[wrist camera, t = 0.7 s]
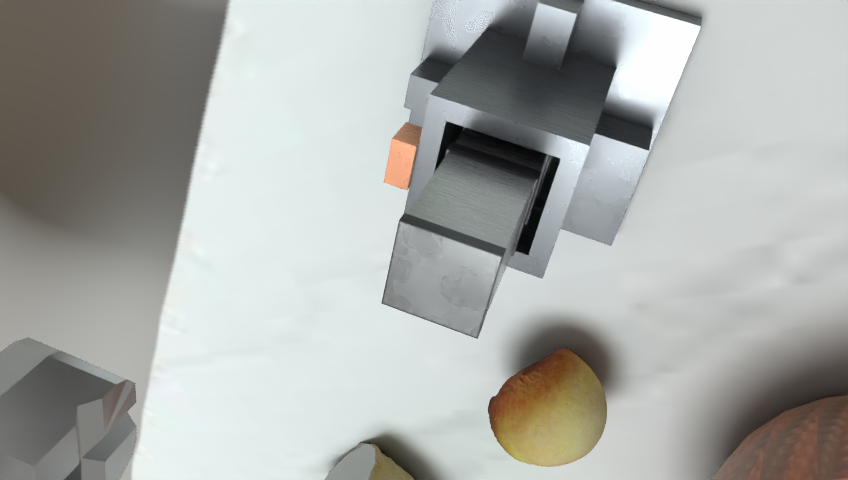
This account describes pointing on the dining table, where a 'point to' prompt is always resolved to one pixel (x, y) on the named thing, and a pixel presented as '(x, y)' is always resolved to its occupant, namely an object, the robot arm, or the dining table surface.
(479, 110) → the stand
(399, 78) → the dining table surface
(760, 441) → the bowl
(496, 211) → the column
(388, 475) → the yellow rounded chunk
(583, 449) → the fruit
